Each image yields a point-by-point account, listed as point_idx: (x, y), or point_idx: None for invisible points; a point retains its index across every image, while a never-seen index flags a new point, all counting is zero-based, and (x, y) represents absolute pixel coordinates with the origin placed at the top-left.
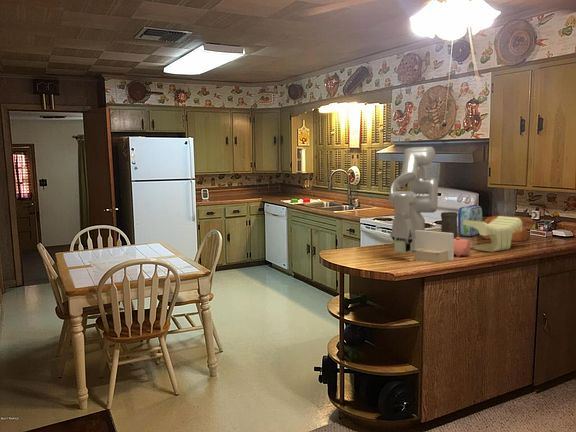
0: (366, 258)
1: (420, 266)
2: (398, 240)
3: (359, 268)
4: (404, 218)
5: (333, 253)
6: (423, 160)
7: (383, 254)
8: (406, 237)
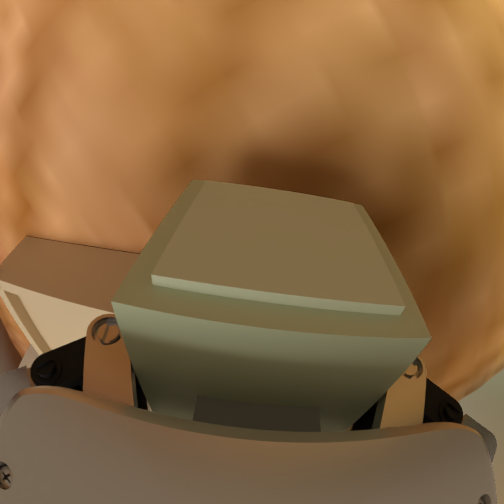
0: None
1: (15, 66)
2: (323, 378)
3: None
4: None
5: None
6: None
7: (451, 312)
8: (20, 403)
